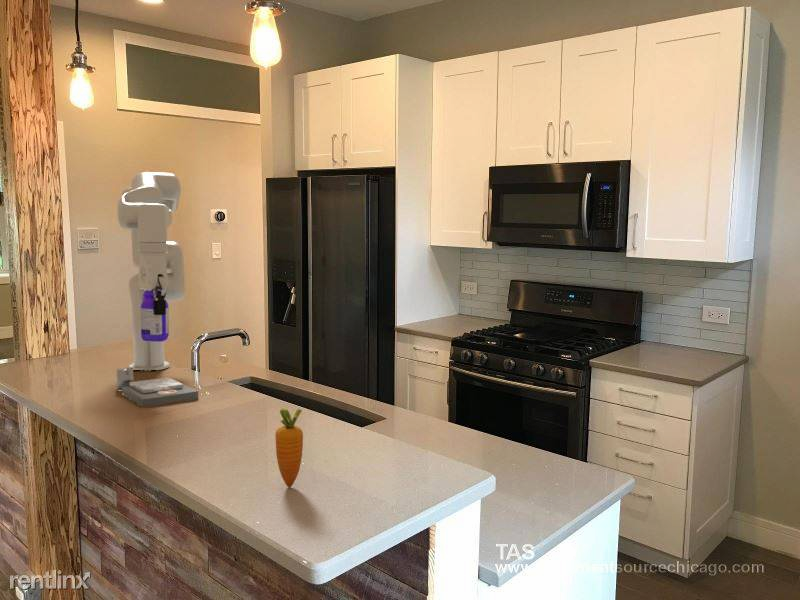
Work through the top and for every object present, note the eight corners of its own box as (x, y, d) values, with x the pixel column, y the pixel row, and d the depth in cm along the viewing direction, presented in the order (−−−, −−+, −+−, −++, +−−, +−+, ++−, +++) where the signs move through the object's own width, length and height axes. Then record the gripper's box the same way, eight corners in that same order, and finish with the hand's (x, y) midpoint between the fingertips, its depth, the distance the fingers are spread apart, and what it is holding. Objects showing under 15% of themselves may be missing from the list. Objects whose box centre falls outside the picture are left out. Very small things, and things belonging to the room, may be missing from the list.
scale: (122, 394, 187) (121, 385, 187) (174, 387, 197) (174, 378, 197) (143, 407, 174) (142, 397, 174) (198, 398, 184) (198, 389, 184)
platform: (129, 385, 188) (129, 382, 188) (168, 380, 195) (168, 377, 195) (143, 393, 180) (143, 389, 180) (183, 387, 187) (183, 384, 187)
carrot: (304, 482, 125) (304, 403, 124) (301, 492, 120) (301, 411, 119) (277, 482, 125) (277, 403, 123) (273, 492, 120) (273, 411, 118)
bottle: (172, 339, 188) (171, 277, 187) (163, 342, 183) (161, 279, 181) (147, 338, 189) (146, 277, 187) (137, 341, 184) (136, 278, 182)
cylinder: (115, 388, 193) (115, 368, 193) (131, 386, 196) (131, 366, 195) (118, 392, 190) (118, 372, 189) (135, 390, 192) (134, 370, 191)
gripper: (128, 248, 187) (130, 310, 189) (150, 250, 174) (152, 317, 176) (155, 247, 192) (156, 309, 194) (178, 250, 179) (180, 315, 181)
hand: (154, 312), depth 185 cm, fingers closed on bottle, 7 cm apart
